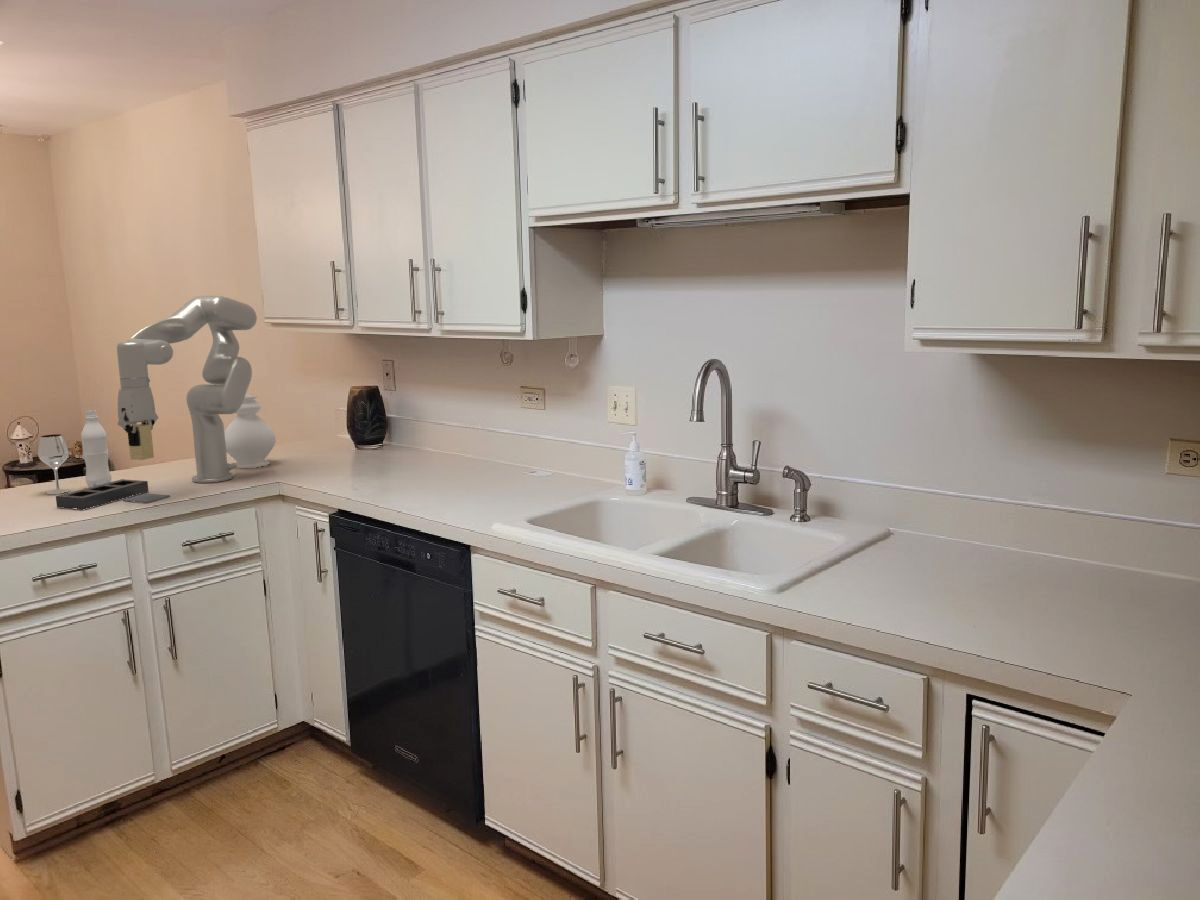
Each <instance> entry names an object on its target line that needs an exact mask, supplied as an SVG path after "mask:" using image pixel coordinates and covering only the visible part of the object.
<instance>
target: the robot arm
mask: <svg viewBox="0 0 1200 900" xmlns="http://www.w3.org/2000/svg"><path fill="white" fill-rule="evenodd" d="M257 316H258V315H257V313H256V311H255V309H254V308H253V307H252V306H251V305H249V304H247V303H244V302H241V301H238V300H236V299H232V298H230V297H226V296H223V295H199V296H195V297H193V298H191V299H190V300H188V301H187V302H186V303H185V304H184V305H182V307H180V308H179V309H178V310H177V311H176V312H174V313H173V314H172V315H171V316H169V317H167V318H164V319H161V320H159V321H156V322H154V323H153V324H150V325H147V326H146V327H144V328H142V329H140V330H138V331H137V332H136V333H135V334H133V335H131V337H130V338H128V339H127V341H121V342H118V343H117V345H116V352H117V353H116V354H117V364H118V372H119V373H118V374H119V383H120V388H119V389H118V392H117V418H118V421H117V426H119V427H121V428H122V429H123V430H124V432H125V433H126V434H127V439H128V446H139V441H138V433H136V425H137V424H138V423H140V424H149V425H151V431H153V429H154V425H155V423H156V422H157V420H158V419H159V416H158V414H157V413H156V408H155V400H154V396H153V391H152V389H151V387H150V382H151V380H150V378H149V369H148V365H153V366H154V365H155V366H156V365H166V364H167V363H169V362H170V361H171V359H172V358H173V356H174V349H173V348H172V345H171V344H176V343H180V342H183V341H187V340H188V339H191V338H192V337H193V336H194V335H195V334H196V333H198V332H199V331H200V330H201V329H202V328H204V326H206V325H207V324H208V327H209V330H210V332H211V336H212V345H211V348H210V350H209V352H208V355H207V357H206V360H205V361H204V362H205V363H204V366H203V368H202V372H201V374H202V378H203V380H204V381H205V382H206V383H208V384H197V385H194V386H192V387H190V389H189V390H188V392H187V394H186V404H187V408H188V412H189V415H190V419H191V425H192V434H193V437H192V438H193V445H194V446H193V447H194V457H195V458H194V459H195V467H196V469H195V470H196V474H195V475H193V476H192V477H191V480H192V482H193V483H199V484H201V483H202V484H207V483H208V484H209V483H220V481H221V482H226V481H229V479H230V480H232V479H233V478H234V473H232V472H231V471H232V470H235V469H237V468H236V467H237V465H236V464H235V463H236V462H233V463H229V462H228V457H227V454H228V453H227V451H226V443H225V430H226V429H225V425H224V422H223V419H222V418H221V416H220V415H233V414H236V413H235V412H237V411H238V410H239V408H240V407H241V405H242V402H243V400H244V397H245V395H247V393H248V389H249V388H250V387H249V386H250V383H251V380H252V377H253V376H252V375H253V371H252V370H253V369H252V365H251V363H250V362H249V360H247V358H245V357H242V356H239V352H240V344H239V341H238V338H237V337H236V335H235V333H234V331H248V330H251V329H253V327H255V325H256V323H257V318H258V317H257ZM131 425H132V427H131Z"/></svg>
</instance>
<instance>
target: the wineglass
mask: <svg viewBox="0 0 1200 900" xmlns="http://www.w3.org/2000/svg"><path fill="white" fill-rule="evenodd" d="M37 455H38V458H39V460H40V461H41V462H42V463H44V464H45V465H46V466H48V467H50V468H51V469H52V470H53V473H54V481H55V489H53V490H50V491H47V492H46V493H45V494H46V495H48V494H56V495H61V494H60V493H62V492H63V493H64V492H65V491H66V492H68V491H67V490H69V491H70V492H71V490H70V489H61V488H60V483H59V475H58V474H59V473H58V469H59V468H60V467H61V466H62V464H64V463H65V462H66V461H67V459H68V458H69V455H70V452H69V448H68V445H67V442H66V440H65V439H64V435H63V434H56V433H55V434H46V435H40V438H39V442H38V449H37ZM68 493H69V492H68ZM64 494H65V493H64Z"/></svg>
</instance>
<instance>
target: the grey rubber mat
mask: <svg viewBox="0 0 1200 900" xmlns="http://www.w3.org/2000/svg"><path fill="white" fill-rule="evenodd" d="M170 495H171V494H162V493H160V494H159V493H149V492H147V493H143V494H140V495H136V496H133V497H129V498H125V499H122V502H123V501H135V502H144V503H143V504H149V503H148V502H150V503H152V502H151V501H154V502H156V501H155V500H157V501H160V500H163V499H162V498H164V499H167V498H170V497H171V496H170ZM166 497H167V498H166ZM159 499H160V500H159ZM135 502H134V503H135Z"/></svg>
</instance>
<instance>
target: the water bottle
mask: <svg viewBox="0 0 1200 900" xmlns="http://www.w3.org/2000/svg"><path fill="white" fill-rule="evenodd" d="M84 418H85V419H86V420H85V424H84V426H83V429H82V431H81V434H80V439H81V446H82V458H83V460H84V463H85V482H86V485H87V487H88V488H90V487H94V486H98V485H102V484H106V483H110V482H112V475H111V472H110V468H109V454H110V453H109V449H108V448H109V447H108V440H107V436H108V435H107V431H106V430H105V429H104V427H103V425H101V423H100V421H99V419H98V418H99V416H98V413H97V409H87V410H85V417H84Z"/></svg>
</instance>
